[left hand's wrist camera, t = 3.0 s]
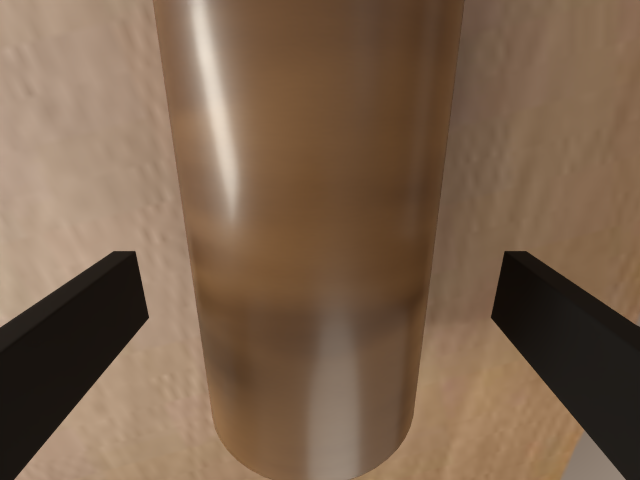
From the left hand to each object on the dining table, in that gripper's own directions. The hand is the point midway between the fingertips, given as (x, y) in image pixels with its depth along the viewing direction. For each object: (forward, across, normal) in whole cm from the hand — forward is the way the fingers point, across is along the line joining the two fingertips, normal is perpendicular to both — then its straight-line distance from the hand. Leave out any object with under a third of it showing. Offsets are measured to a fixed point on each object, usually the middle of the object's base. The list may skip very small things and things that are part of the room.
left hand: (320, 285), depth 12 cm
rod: (+3, 0, -10) cm, 10 cm away
